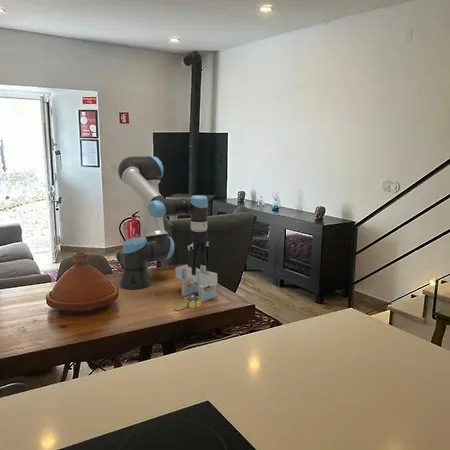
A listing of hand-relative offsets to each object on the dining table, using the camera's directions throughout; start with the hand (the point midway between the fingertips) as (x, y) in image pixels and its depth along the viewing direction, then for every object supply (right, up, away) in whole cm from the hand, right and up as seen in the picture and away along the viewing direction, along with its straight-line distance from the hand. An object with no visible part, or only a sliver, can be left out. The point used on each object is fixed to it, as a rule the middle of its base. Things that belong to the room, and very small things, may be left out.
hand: (199, 280), depth 201 cm
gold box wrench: (-4, -10, -12) cm, 16 cm away
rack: (0, -9, +2) cm, 9 cm away
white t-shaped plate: (-1, 0, +1) cm, 1 cm away
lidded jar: (0, -6, +16) cm, 17 cm away
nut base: (-2, -11, -10) cm, 15 cm away
